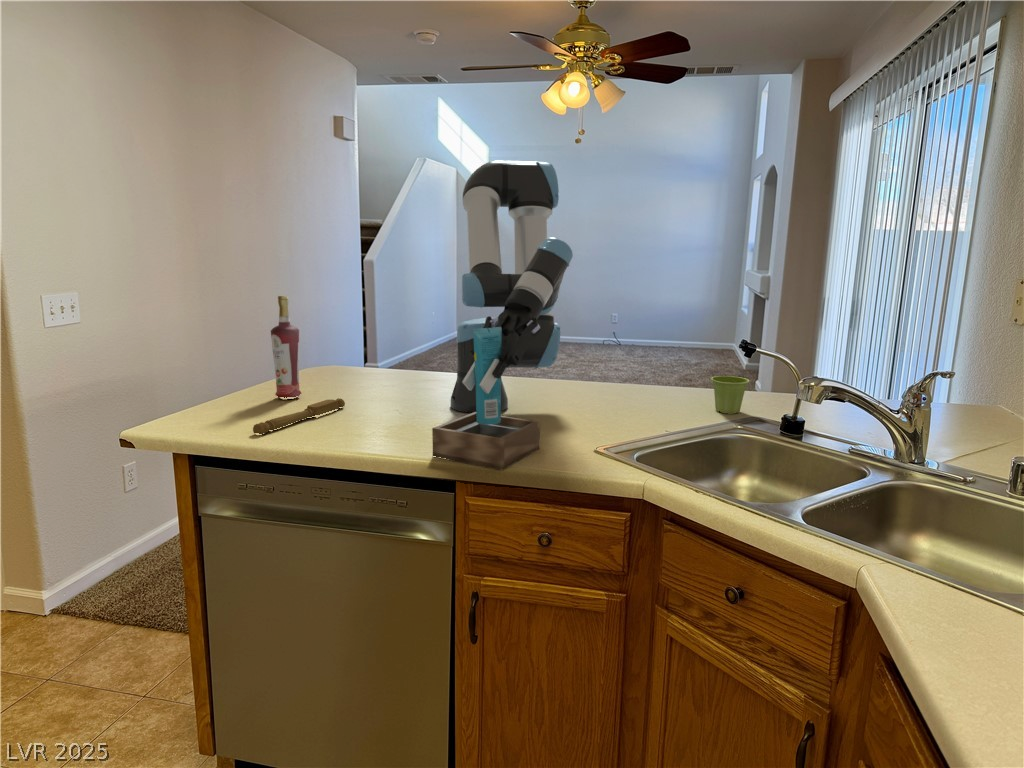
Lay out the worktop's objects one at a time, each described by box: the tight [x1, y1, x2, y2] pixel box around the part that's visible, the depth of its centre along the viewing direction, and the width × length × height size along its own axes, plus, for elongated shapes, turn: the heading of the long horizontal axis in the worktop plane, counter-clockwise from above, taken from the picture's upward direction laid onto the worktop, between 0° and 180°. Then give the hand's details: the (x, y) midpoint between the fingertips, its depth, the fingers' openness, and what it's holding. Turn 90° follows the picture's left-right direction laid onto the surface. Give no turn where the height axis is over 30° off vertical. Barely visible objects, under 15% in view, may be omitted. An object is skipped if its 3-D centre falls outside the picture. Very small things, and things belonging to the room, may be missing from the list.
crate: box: [431, 412, 541, 471], centre depth 139 cm, size 16×16×6 cm
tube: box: [473, 327, 502, 425], centre depth 135 cm, size 7×5×19 cm, turn 140°
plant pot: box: [710, 375, 750, 415], centre depth 177 cm, size 9×9×9 cm
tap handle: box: [252, 397, 346, 434], centre depth 164 cm, size 3×3×30 cm
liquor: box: [270, 295, 302, 398], centre depth 184 cm, size 7×7×28 cm
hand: (475, 387), depth 133 cm, fingers closed on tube, 4 cm apart
